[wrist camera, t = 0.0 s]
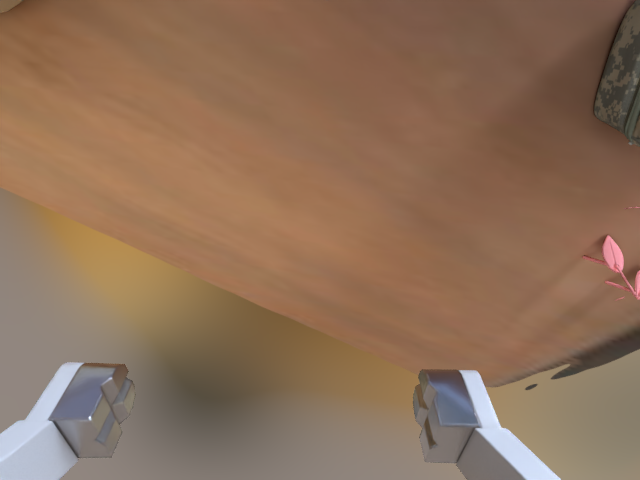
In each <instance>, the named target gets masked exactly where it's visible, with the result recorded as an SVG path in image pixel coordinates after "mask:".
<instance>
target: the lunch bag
mask: <svg viewBox="0 0 640 480" xmlns="http://www.w3.org/2000/svg"><path fill="white" fill-rule="evenodd" d="M594 113H595V116H596V117H597V118H598V119H599V120H601V121H603V122H605V123H607V124H609V125H610V126H612V127H614V128H615V129H617V130H618V131H620V132H622V133H623V134H624V135H625V136H626V138H627V139H629V140H630V142H629V144H630V145H632V144H635V145H636V146H639V147H640V0H636V1H635V2H634V3H633V5H632V6H631V7H630V8H629V10H628V12H627V13H626V15H625V17H624V19H623V21H622V23H621V26H620V28H619V31H618V33H617V36H616V38H615V41H614V44H613V46H612V49H611V52H610V55H609V57H608V61H607V64H606V67H605V70H604V73H603V76H602V79H601V82H600V85H599V89H598V92H597V96H596V101H595V106H594Z"/></svg>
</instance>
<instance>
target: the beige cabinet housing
mask: <svg viewBox="0 0 640 480" xmlns="http://www.w3.org/2000/svg"><path fill="white" fill-rule="evenodd" d="M22 1H23V0H0V13H2V12H8V11H9V10H10V9H12V8H13V7H15V6H16V5H18V4H19V3H21V2H22Z"/></svg>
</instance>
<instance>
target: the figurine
mask: <svg viewBox="0 0 640 480" xmlns="http://www.w3.org/2000/svg"><path fill="white" fill-rule="evenodd" d="M633 208H640V207H633ZM624 209H628V208H624ZM602 255H603V258H604V260H605V262H604V261H601V260H598V259H594V258H591V257H588V256H583V257H582V258H584V259H587V260H590V261H593V262H597V263H600V264H603V265H606V266H608V267H609V269H611V270H612V271H613V272H617V273H620V274H621V276H622V277H623V279H624V281H625V282H626V284H627V286H628V287H629V288H626V287H623V286H621V285H618V284H615V283H612V282H609V281H605V283H606V284H609V285H612V286H614V287H617V288H620V289H623V290H626V291H629V292H631V293H632V294H633V295H634V296H635V297H636V299H638V300H640V271H638V272H637V275H636V279H635V290H633V288H632V287H631V285H630V284H629V282H628V281H627V279H626V277H625V276H624V274H623V273H622V270H623V264H624V259H623V254H622V252H621V250H620V248H619V247H618V246H617V244H616V243H615V242H614V240H613V239H612V238H611V237H610V236H609V235H608V236H607V237H606V238H605V240H604V243H603V245H602ZM622 298H624V297H622ZM622 298H620V299H622ZM617 300H619V299H617ZM615 301H616V300H615Z"/></svg>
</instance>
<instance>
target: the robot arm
mask: <svg viewBox="0 0 640 480" xmlns="http://www.w3.org/2000/svg"><path fill="white" fill-rule="evenodd" d="M127 374H128V369H127V367H126V365H125V364H103V363H76V362H66V363H64V364H63V365H62V366H61V367H60V368H59V369H58V370H57V372H56V373H55V375H54V376H53V378H52V379H51V381H50V382H49V384H48V385H47V387H46V388H45V390H44V392H43V393H42V395H41V396H40V398H39V399H38V401H37V402H36V404H35V405H34V407H33V409H32V410H31V412H30V413H29V414H28V416H27V418H26V419H25V420H19V421H17V422H16V423H15V424H13V425H12V426H10V427H9V428H8V429H6V430H5V431H3V432H2V433H1V434H0V480H59V479H60V478H61V477H62V476H63V475H64V474H65V473H66V472H67V471H68V470H69V469H70V468H71V467H72V466H73V465H74V464H75V463H76V462H77V461H78V460H79V459H78V458H111V457H112V455H113V453H114V450H115V448H116V446H117V444H118V441H119V439H120V437H121V434H122V430H121V427H120V424H121V423H122V422H123V421H124V420H125V419H126V418H128V417H129V415H130V413H131V410H132V408H133V405H134V399H135V386H134V384H133V382H132V381H131V380H130V379H128V378H127V377H126V376H127ZM418 378H419V382H420V384H419V385H417V386H416V387H415V390H414V394H413V406H414V414H415V419H416V422H417V423H418V424H419V425H420V426H421V427H422V431H421V434H420V442H421V446H422V450H423V455H424V459H425V462H435V463H457V464H456V466H457V467H458V468H459V469H460V471H461V472H462V474H463V475H464V476H465V477H466V479H467V480H561V479H560V478H559V477H558V476H557V475H556V474H554V473H553V472H552V471H551V470H550V469H549V468H548V467H547V466H546V465H545V464H544V463H543V462H542V461H541V460H540V459H539V458H537V457H536V455H534V454H533V453H532V452H531V451H530V450H529V449H528V448H527V447H526V446H525V445H524V444H523V443H522V442H521V441H519V439H518V438H517V437H515V436H514V435H513V434H512V433H511V432H510V431H509V430H508V429H505V428H501V426H500V423H499V421H498V418H497V416H496V414H495V411H494V408H493V406H492V403H491V401H490V399H489V396H488V394H487V391H486V389H485V386H484V384H483V381H482V379H481V376H480V374H479V373H478V372H477V371H475V370H421V371H420V373H419V377H418Z"/></svg>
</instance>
